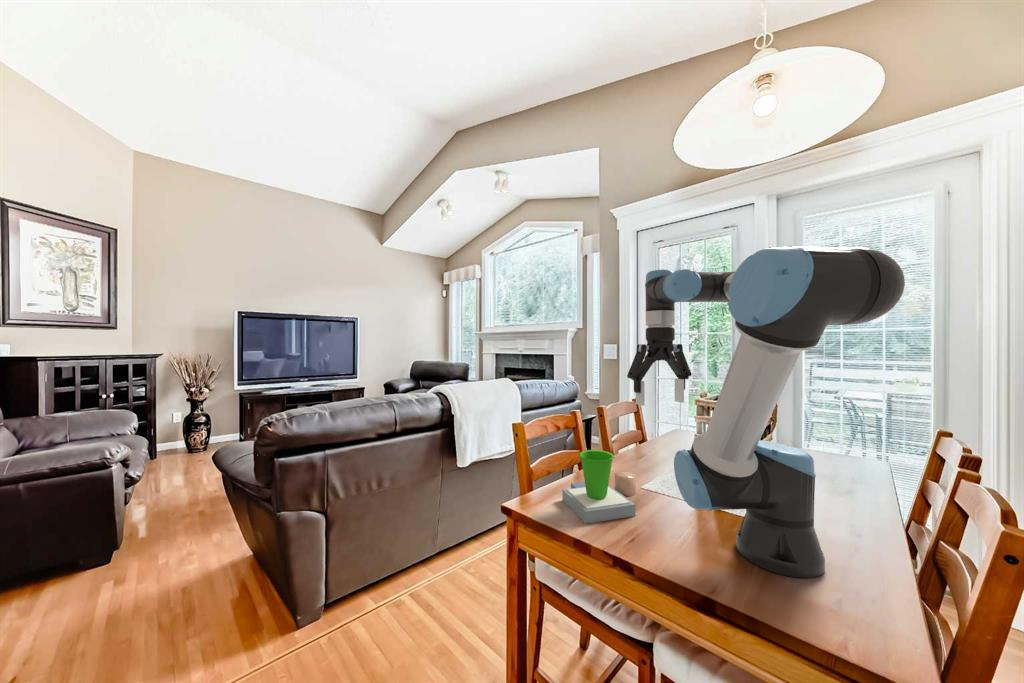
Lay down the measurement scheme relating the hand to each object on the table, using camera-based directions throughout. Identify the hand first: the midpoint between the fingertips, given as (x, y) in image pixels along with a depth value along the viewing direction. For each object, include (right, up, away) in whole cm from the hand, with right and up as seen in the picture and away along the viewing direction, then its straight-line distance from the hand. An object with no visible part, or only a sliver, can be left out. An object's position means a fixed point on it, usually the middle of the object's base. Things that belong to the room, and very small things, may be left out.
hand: (660, 403), depth 107 cm
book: (-18, -28, +6) cm, 34 cm away
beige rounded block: (-8, -27, +6) cm, 29 cm away
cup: (-19, -24, -4) cm, 31 cm away
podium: (-18, -27, -4) cm, 33 cm away
